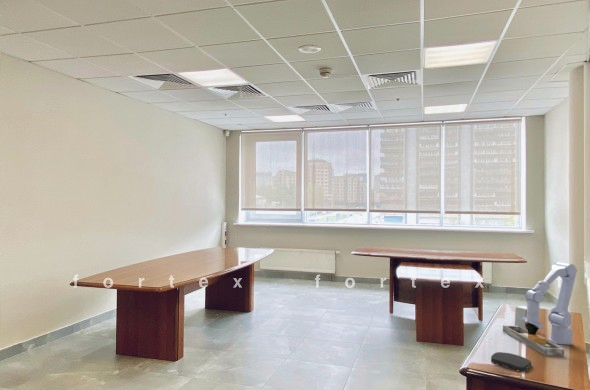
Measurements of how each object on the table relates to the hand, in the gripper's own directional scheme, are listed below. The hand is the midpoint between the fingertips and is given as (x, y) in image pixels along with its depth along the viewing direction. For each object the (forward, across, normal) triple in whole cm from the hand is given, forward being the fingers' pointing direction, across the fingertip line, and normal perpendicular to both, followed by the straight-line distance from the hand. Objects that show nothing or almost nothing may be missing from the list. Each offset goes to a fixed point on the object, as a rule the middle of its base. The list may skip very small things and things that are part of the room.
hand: (531, 337), depth 214 cm
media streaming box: (+3, +30, -30) cm, 42 cm away
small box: (+3, -26, +12) cm, 28 cm away
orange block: (+1, +4, 0) cm, 4 cm away
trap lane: (+3, -1, 0) cm, 3 cm away
